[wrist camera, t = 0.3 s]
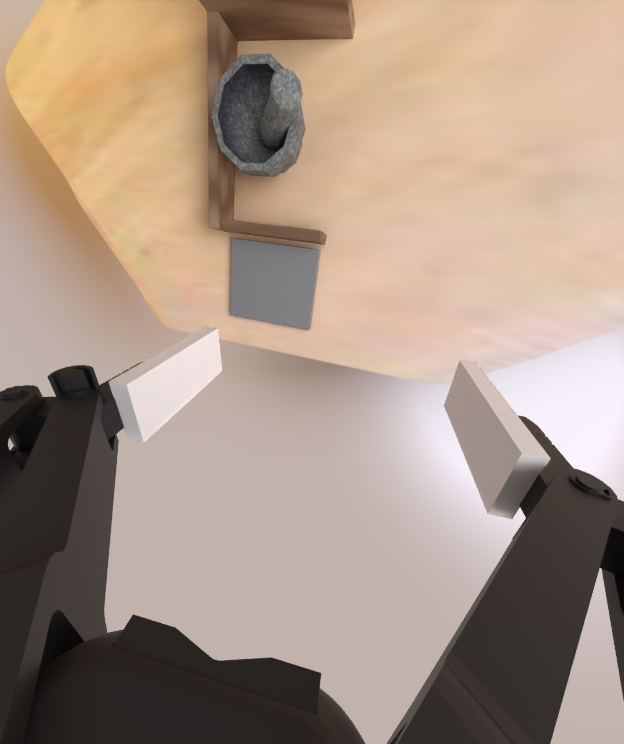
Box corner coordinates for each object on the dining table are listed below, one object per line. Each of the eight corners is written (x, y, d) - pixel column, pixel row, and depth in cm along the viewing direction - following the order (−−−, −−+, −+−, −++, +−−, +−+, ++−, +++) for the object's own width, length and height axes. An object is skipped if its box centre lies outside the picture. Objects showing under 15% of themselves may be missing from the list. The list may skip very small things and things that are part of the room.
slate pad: (234, 238, 40) (231, 238, 39) (320, 250, 37) (319, 249, 37) (232, 314, 44) (230, 315, 43) (310, 329, 41) (308, 330, 41)
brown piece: (228, 26, 32) (-123, -503, 10) (355, 22, 29) (249, -732, 7) (225, 231, 40) (28, 184, 18) (325, 244, 37) (232, 206, 15)
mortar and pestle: (242, 185, 37) (181, 150, 26) (243, 95, 34) (173, 12, 23) (322, 190, 35) (292, 154, 24) (332, 95, 31) (302, 2, 21)
